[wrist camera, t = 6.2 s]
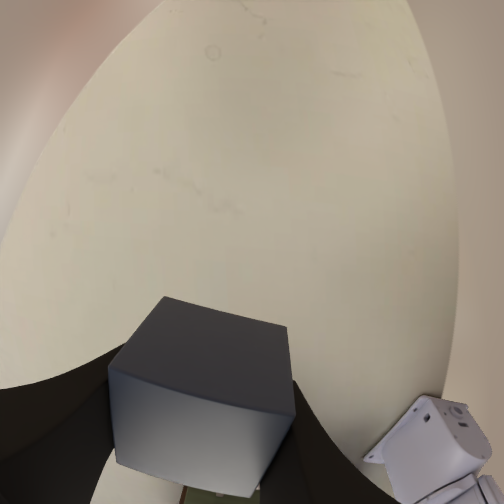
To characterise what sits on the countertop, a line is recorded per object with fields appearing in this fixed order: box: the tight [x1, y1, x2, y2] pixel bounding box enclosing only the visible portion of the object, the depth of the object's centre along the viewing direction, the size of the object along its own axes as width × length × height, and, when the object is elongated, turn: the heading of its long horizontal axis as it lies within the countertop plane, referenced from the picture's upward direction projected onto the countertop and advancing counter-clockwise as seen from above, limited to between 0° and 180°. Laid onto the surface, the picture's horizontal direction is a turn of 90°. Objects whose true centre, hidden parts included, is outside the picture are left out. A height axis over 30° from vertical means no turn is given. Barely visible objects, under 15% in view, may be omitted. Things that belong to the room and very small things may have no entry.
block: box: [108, 296, 296, 498], centre depth 9 cm, size 4×4×4 cm
